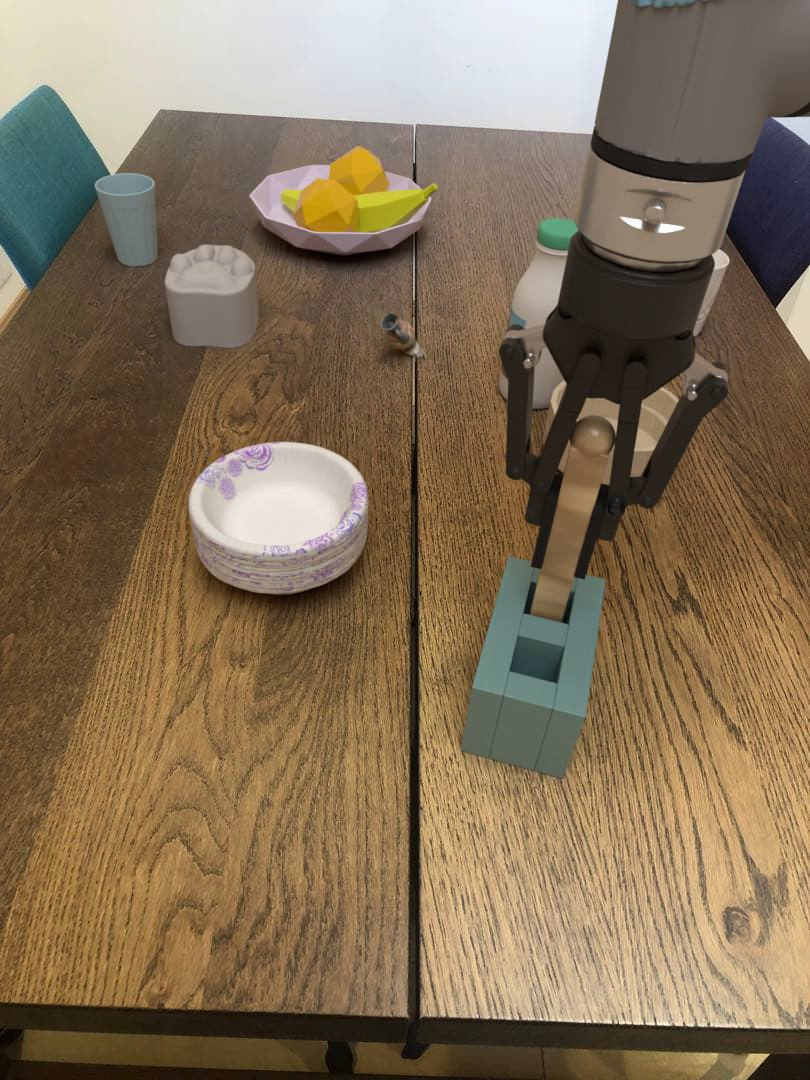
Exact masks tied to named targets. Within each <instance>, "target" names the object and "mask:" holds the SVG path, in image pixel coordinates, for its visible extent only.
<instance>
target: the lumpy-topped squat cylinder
mask: <svg viewBox="0 0 810 1080" xmlns="http://www.w3.org/2000/svg"><path fill="white" fill-rule="evenodd" d="M257 286H258V285H257V272H256V264H255V262H254V261H253V260H252V259H251V257H249V255H247V253H245V252H243V251H242V250H240V249H238V248H235V247H233V246H232V245H227V244H225V245H221V244H219V245H218V244H215V245H214V244H205V243H204V244H201V245H199V246H198V247H197V248H194V249H191V250H188V251H186V252H184V253H176V254H175V255H173V256H172V257H171V260H170V262H169V266H168V268H167V271H166V274H165V278H164V289H165V295H166V302H167V307H168V315H169V321H170V327H171V333H172V338H173V340H174V341H175V342H176V343H178V344H180V345H182V346H185V347H214V348H222V349H236V348H239V347H240V348H241V347H242V346H246V345H247V344H248V343H250V342H251V341H252V340H253V339H254V337H255V334H256V332H257V330H258V327H259V323H260V311H259V299H258V298H259V297H258V287H257Z"/></svg>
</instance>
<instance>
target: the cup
mask: <svg viewBox="0 0 810 1080" xmlns="http://www.w3.org/2000/svg"><path fill="white" fill-rule="evenodd" d="M94 189H95V192H96V195H97V198H98V201H99V204H100V208H101V210H102V214H103V217H104V220H105V223H106V226H107V228H108V229H107V230H108V233H109V236H110V239H111V242H112V246H113V249H114V252H115V255H116V258H117V261H118V262H119V263H120V264H122V265H124V266H127V267H144V266H149V265H151V264H153V263H155V262H156V261H157V260H158V258H159V252H158V251H159V250H158V249H159V248H158V231H157V229H158V227H157V209H156V183H155V180H154V179H153V178H151V177H150V176H147V175H145V174H140V173H133V172H122V173H113V174H109V175H105V176H103V177H101V178H99V179H97V181H96V182H95V183H94Z"/></svg>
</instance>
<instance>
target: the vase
mask: <svg viewBox="0 0 810 1080" xmlns="http://www.w3.org/2000/svg"><path fill="white" fill-rule="evenodd" d="M379 327H380V328H381V330H382V331H384V332H385V339H386V341H387V343H388V344H389V345H390V346H391V347H393V349H396V350H400V351H402V352H403V353H404V354H407V355H410V356H413V359H414V361H413V362H412V363H413V364H414V363H415V361H416V359H418V360H417V362H420V360H419V359H420V358H423V356H424V358H425V359H427V358H428V355H427V354H426V352H425V351H424V349H423V348H420V345H419V343H418V341H417V339H416V337H415V330H414V328H413V326H412V325H411V324H410V323H409V322H408V321H406V320H404V319H399V317H398V316H397V315H396V314H394V313H391V312H387V313H385V314H384V315H383V316H382V317H381V319H380V321H379Z"/></svg>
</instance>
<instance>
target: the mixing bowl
mask: <svg viewBox="0 0 810 1080" xmlns="http://www.w3.org/2000/svg"><path fill="white" fill-rule="evenodd" d="M565 387H566V382H565V380H563V381H562V382H561V383H560V384H559V385H558V386H557V387H556V388H555V389H554V391H553V394H552V398H551V401H550V406H549V407H548V411H547V416H546V421H545V425H544V430H543V435H542V440H541V441H542V444H543V446H544V443H545V441H546V438H547V435H548V433H549V430H550V427H551V425H552V422H553V419H554V417H555V414H556V411H557V409H558V406H559V403H560V401H561V398H562V395H563V393H564V390H565ZM679 399H680V398H678V397H677V396H676V395H675V394H674V393H672V392H671V390H669V389H666V388H665V387H664V386H663V387H662V388H660V389H659V390H657V391H656V392H654V393H653V394H652V395H650V396H649V397H647V398H646V399H644V400H642V405H641V412H640V418H639V424H638V431H637V437H636V444H635V450H634V457H633V463H632V470H631V476H630V477H637V476H641V475H642V473H643V471H644V469H645V467H646V465H647V463H648V461H649V459H650V457H651V455H652V453H653V451H654V449H655V447H656V445H657V443H658V441H659V439H660V437H661V435H662V433H663V431H664V429H665V427H666V425H667V423H668V421H669V419H670V417H671V415H672V413H673V411H674V409H675V407H676V405H677V403H678V401H679ZM619 407H620V405H619V404H615V403H613V402H611V401H609V400H606V399H604V398H592V399H589V398H587V399H586V401H585V404H584V406H583V408H582V411H581V413H580V414H579V416H578V419H577V421H578V420H580V419H581V418H583V417H585V416H589V415H597V416H601V417H604V418H605V419H607V420H608V421H609V422H610V423H611V424H612V426H613V428H614V430H615V435H616V431H617V423H618V415H619ZM577 421H576V422H577ZM570 446H571V444H570V439H569V441H568V444H567V446H566V449H565V451H564V454H563V456H562V459H561V461H560V464H559V466H558V469H557V470H558V471H559V472H561V473H562V475H563V474H564V470H565V466H566V462H567V458H568V454H569V450H570ZM614 446H615V444H614ZM613 453H614V447H613V448H612V450H611V451H610V453H609V457H608V461H607V464H606V468H605V471H604V475H603V478H602V482H601V483H602V484H607V485H609V483H610V476H611V468H612V461H613Z"/></svg>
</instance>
